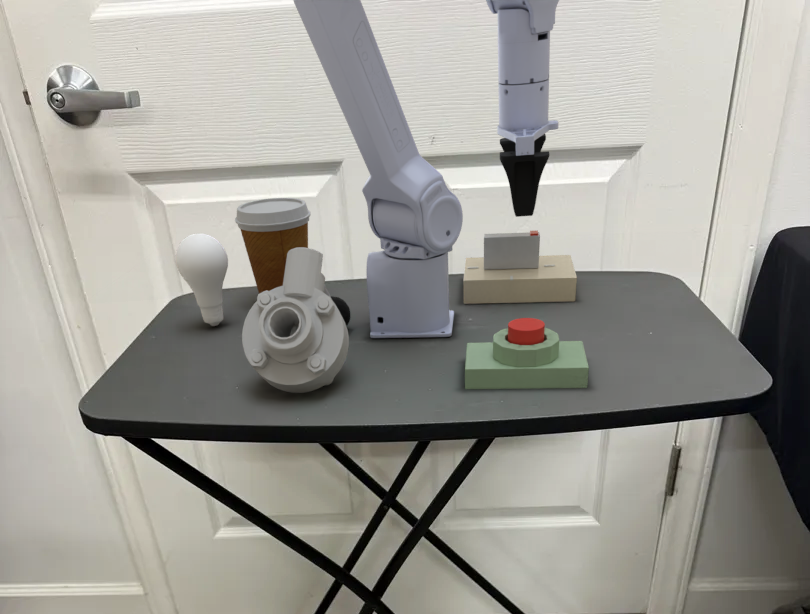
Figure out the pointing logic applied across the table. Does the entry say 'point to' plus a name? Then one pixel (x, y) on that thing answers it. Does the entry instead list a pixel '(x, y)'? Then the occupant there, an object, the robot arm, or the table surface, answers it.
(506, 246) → the red-topped grey block
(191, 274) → the lightbulb
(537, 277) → the tan base
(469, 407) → the table surface
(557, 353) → the button box
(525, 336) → the button
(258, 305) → the centrifugal pump
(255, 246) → the disposable coffee cup
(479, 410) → the table surface
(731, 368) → the table surface
